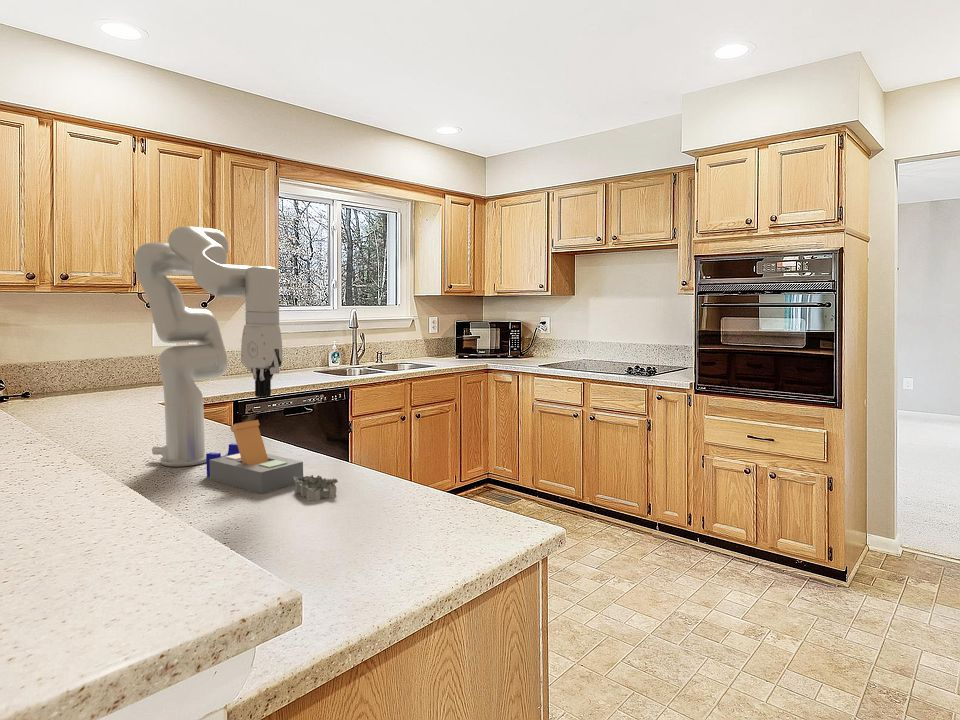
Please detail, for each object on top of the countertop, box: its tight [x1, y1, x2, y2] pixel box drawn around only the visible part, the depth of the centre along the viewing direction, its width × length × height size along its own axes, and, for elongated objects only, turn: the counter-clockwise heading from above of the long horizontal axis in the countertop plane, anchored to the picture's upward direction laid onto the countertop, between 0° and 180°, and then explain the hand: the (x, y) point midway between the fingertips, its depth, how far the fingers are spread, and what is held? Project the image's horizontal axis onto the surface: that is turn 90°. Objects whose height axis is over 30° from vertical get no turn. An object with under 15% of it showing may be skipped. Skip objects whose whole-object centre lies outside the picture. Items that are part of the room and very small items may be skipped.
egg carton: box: [294, 474, 339, 501], centre depth 144 cm, size 11×8×4 cm
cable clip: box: [205, 443, 240, 478], centre depth 163 cm, size 12×4×6 cm, turn 172°
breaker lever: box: [230, 419, 269, 465], centre depth 154 cm, size 2×6×12 cm, turn 145°
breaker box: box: [209, 453, 304, 495], centre depth 154 cm, size 20×12×5 cm, turn 56°
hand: (263, 396), depth 150 cm, fingers closed
